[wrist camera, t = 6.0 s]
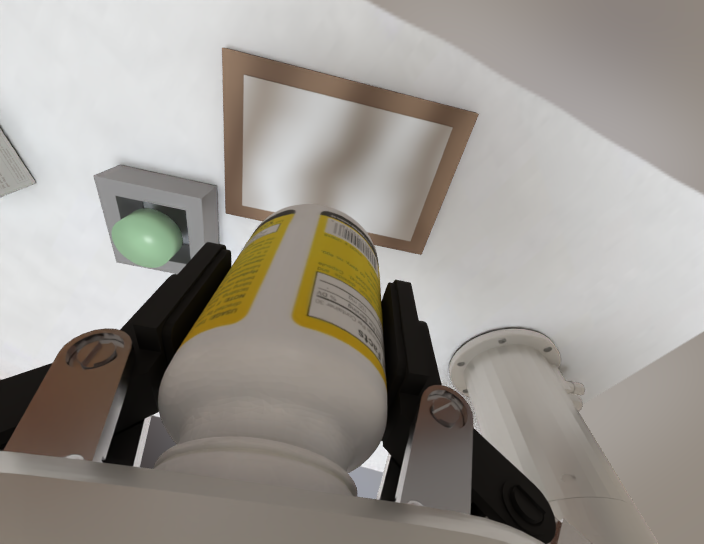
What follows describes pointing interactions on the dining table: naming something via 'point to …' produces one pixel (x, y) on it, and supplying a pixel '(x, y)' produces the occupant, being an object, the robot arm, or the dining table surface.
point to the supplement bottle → (284, 361)
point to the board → (337, 148)
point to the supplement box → (11, 169)
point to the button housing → (140, 185)
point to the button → (147, 237)
